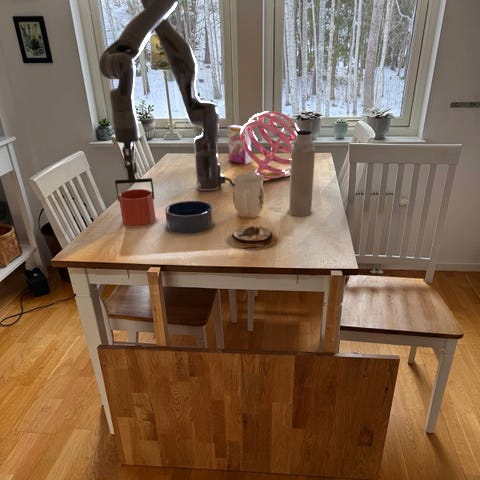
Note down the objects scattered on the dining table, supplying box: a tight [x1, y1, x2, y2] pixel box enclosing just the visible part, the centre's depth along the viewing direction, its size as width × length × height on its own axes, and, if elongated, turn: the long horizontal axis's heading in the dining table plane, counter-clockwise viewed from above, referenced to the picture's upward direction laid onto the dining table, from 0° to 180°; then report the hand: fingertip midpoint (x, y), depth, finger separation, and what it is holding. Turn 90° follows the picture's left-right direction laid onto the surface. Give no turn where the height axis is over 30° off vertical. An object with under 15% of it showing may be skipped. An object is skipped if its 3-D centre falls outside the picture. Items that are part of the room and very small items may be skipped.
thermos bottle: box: [288, 129, 316, 217], centre depth 163 cm, size 8×8×28 cm
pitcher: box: [232, 170, 265, 219], centre depth 165 cm, size 11×18×14 cm, turn 170°
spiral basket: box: [240, 110, 300, 180], centre depth 204 cm, size 28×28×27 cm
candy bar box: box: [227, 124, 252, 165], centre depth 229 cm, size 11×5×16 cm, turn 49°
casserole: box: [164, 200, 214, 235], centre depth 159 cm, size 16×16×6 cm
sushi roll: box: [231, 225, 277, 251], centre depth 149 cm, size 15×15×4 cm
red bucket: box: [114, 177, 157, 228], centre depth 162 cm, size 11×12×15 cm
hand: (133, 176), depth 157 cm, fingers open, 8 cm apart
